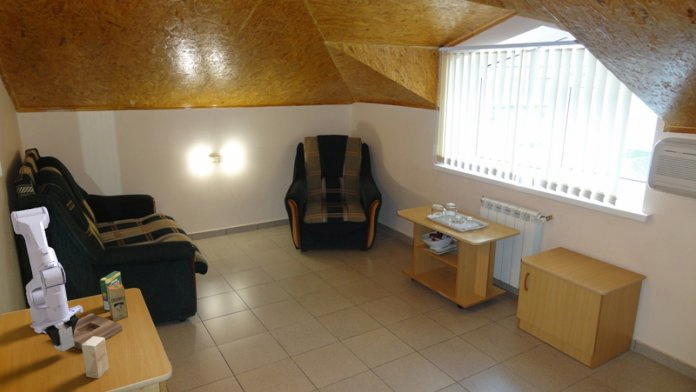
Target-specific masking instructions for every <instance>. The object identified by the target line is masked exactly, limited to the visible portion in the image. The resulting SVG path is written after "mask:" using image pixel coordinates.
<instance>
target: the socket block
mask: <svg viewBox="0 0 696 392" xmlns="http://www.w3.org/2000/svg"><path fill="white" fill-rule="evenodd" d="M121 332H123V326H122V324H121V323H119V322H116V321H113V320H111V319H109V318H106V317H104V316H100V315H97V314H95V313H93V312H92V313H89V314H87V315H85V316H83V317H81V318H78V322H77V324H76V326H75V330H74V337H73V339H74V344H75V345H74V346H73V347H74V348H77V349H78V350H81V351H83V350H82V344H84V343H85V342H86V341H87V340H89V339H90V338H91V337H93V336H96V337H103V338H105V341H107V340H109V339H110V338H112V337H114V336H115V335H116V336H117V335H118V334H119V333H121Z"/></svg>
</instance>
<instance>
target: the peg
mask: <svg viewBox="0 0 696 392" xmlns="http://www.w3.org/2000/svg"><path fill="white" fill-rule="evenodd" d="M56 328H58V329H59V341H60V345H59V346H55V345H54V344H53V345H54V349H56V350H58V351H60V352H65V351H67V350H69V349H70V348H72V347H74V345H75V344H74V339H73V333H72V327H71V326H69V325H67V324H64V323H63V324H61V325H59V326H57V327H56Z"/></svg>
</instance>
